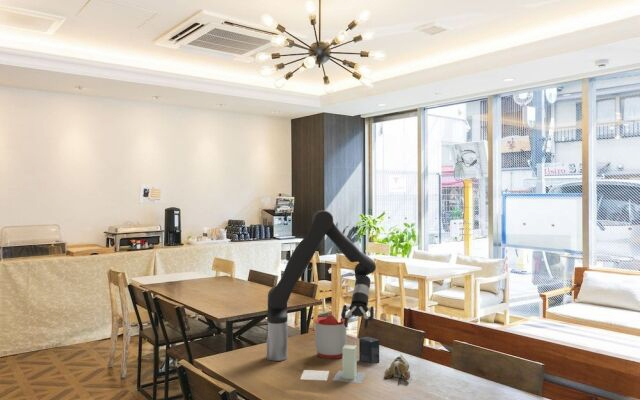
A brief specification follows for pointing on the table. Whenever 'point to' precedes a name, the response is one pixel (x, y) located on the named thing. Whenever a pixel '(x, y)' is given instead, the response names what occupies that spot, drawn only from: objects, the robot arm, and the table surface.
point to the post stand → (357, 379)
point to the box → (369, 350)
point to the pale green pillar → (349, 362)
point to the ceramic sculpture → (398, 369)
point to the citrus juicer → (330, 337)
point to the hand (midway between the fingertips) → (355, 327)
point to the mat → (314, 375)
